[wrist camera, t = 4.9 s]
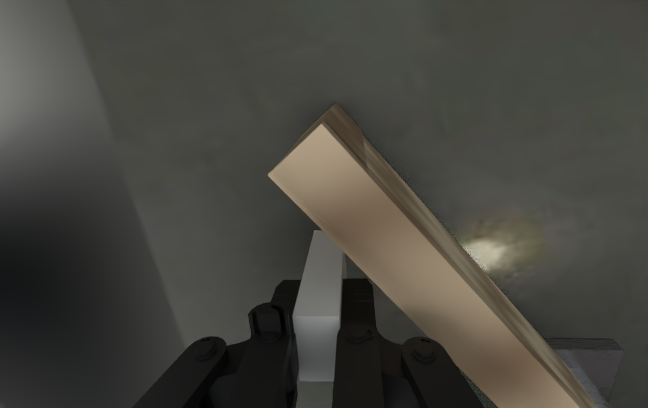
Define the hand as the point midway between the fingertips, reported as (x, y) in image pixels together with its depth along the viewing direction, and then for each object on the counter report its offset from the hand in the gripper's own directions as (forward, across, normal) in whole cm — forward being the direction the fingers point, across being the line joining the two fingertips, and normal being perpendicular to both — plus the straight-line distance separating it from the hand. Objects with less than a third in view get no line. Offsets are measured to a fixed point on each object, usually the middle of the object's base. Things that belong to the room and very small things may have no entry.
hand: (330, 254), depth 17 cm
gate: (+3, -7, +2) cm, 7 cm away
